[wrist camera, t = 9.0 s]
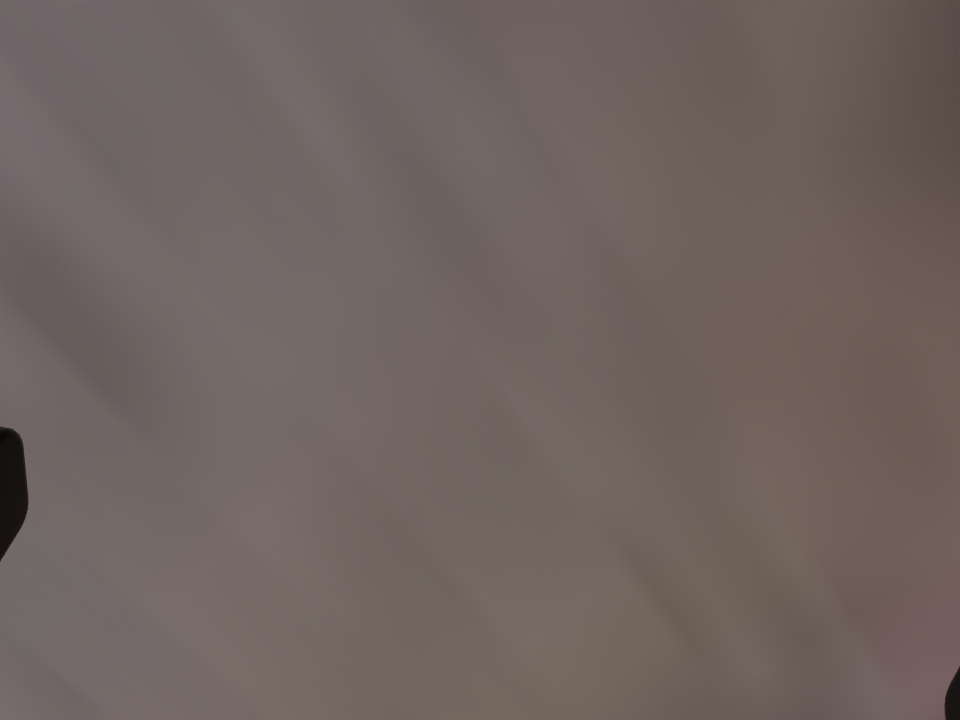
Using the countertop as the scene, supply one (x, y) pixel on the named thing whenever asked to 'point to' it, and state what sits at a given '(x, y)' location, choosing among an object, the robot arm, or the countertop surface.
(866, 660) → the countertop surface
